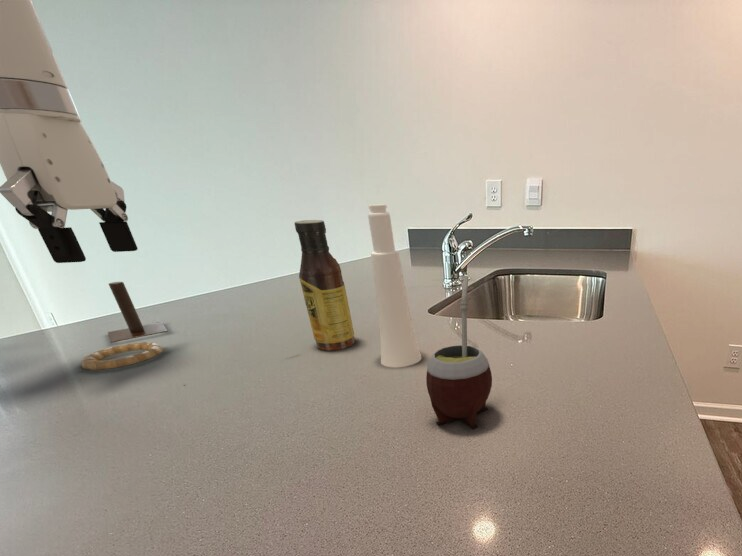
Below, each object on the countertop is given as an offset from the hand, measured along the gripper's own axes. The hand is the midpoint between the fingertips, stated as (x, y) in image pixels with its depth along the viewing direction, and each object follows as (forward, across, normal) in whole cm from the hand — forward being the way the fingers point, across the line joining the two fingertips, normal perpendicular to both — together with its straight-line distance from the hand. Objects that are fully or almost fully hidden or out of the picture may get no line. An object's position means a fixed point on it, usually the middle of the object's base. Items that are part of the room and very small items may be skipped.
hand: (100, 256), depth 55 cm
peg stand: (+16, -17, -12) cm, 27 cm away
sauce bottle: (+17, -3, +27) cm, 32 cm away
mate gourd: (+17, +24, +47) cm, 55 cm away
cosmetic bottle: (+17, +6, +38) cm, 42 cm away
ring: (+16, -3, -6) cm, 17 cm away
